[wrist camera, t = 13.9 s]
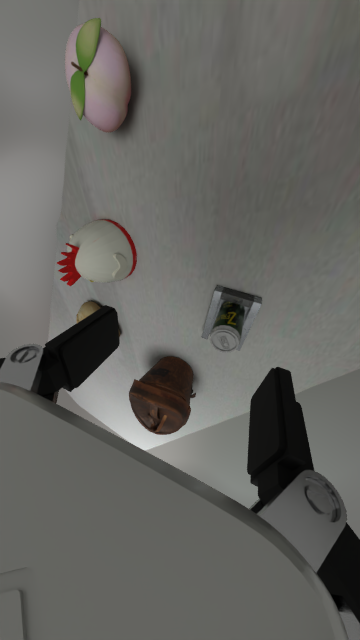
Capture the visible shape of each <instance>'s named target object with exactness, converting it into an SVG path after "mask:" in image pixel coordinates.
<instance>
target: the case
mask: <svg viewBox="0 0 360 640" xmlns="http://www.w3.org/2000/svg"><path fill="white" fill-rule="evenodd" d="M192 383H193V372H192V369H191V368H190V366H189V365H188V364H187V363H186V362H185V361H183V360H181V359H179V358H176V357H170V356H169V357H164V358H162V359H161V360H160V361H159V362H158V363H157V364H156V365H155V366H154V367H153V368H151V369H150V370H149V371H148V372H147V373H146V374H145V375H144V376H143V377H142V378H141V379H140V380H139V381H138V380H135V379H134V382H133V385H132V387H131V389H130V392H129V400H130V402H131V407H132V410H133V412H134V414H135V416H136V418H137V419H138V421H139V422H140V423H141V424H142V425H143V426H144V427H145V428H146V429H147V430H148V431H150V432H153V433H155V434H159V435H167V434H171V433H174V432H176V431H178V430H179V429H180V428H181V427H182V426H184V425H185V424H186V422H187V420H188V418H189V415H190V412H191V408H190V406H189V405H190V398H194V397H195V396H196V393H195V394H193V395H192V393H193V390H192Z"/></svg>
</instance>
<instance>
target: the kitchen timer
mask: <svg viewBox="0 0 360 640" xmlns="http://www.w3.org/2000/svg"><path fill="white" fill-rule="evenodd" d="M66 245H68V248H67V252H61V254H63V255H65V256H67V258H66V259H64V260H61V261H59V262H57V264H59V265H62V266H64V265H67V266H66V267H64V268H62V269H60V270H58V271H60V272H62V273H68V274H66V275H65V276H64V277H62V278H61V279H60V280H62V281H64V282H65V281H68V280H69V281H68V283H67V285H69V286H71V285H73V284H74V283H75V282H76V281H77V280H78V279H79V278H80V277H83V278H85V279H88V280H90V281H91V282H94V281H95V282H114V281H119V280H122V279H124V278H126V277H128V276H129V275H131V274H132V272H133V271H134V269H135V266H136V262H137V253H136V249H135V245H134V243H133V241H132V239H131V237H130V235H129V234H128V233H127V231H126V230H125V229H124V228H123V227H122V226H121V225H119V224H118V223H116V222H114V221H111V220H96V221H93V222H91V223H89V224H87V225H85V226H83V227H82V228H81V229H79V230H78V231H77V232H76V233H75V234H72V235H70V242H69V244H68V243H66Z"/></svg>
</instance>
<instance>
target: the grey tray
mask: <svg viewBox="0 0 360 640" xmlns="http://www.w3.org/2000/svg"><path fill="white" fill-rule="evenodd" d="M226 301H228V302H232V303H235V304H238V305H242V306H244V308H245V315H244V322H243V329H242V336H241V341H240V344H239V345H238V347H237V349H236V350H238V351H240V349H241V346H242V344H243V342H244V340H245V338H246V336H247V334H248V332H249V330H250V328H251V325H252V323H253V321H254V319H255V317H256V315H257V313H258V311H259V309H260V307H261V304H262V298H260V297H257V296H253V295H250V294H246V293H243V292H239V291H236V290H232V289H229V288H225V287H222V286H218V285H217V287H216V289H215V291H214V295H213V298H212V302H211V305H210V309H209V312H208V316H207V319H206V323H205V326H204V330H203V333H202V338H205V339H208V336H209V334H210V333H211V330H212V328H213V325H214V322H215V320H216V317H217V315H218V312H219V310H220V307H221V305H222V304H223V303H224V302H226Z"/></svg>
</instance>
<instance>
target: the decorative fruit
mask: <svg viewBox="0 0 360 640" xmlns="http://www.w3.org/2000/svg"><path fill="white" fill-rule="evenodd" d="M65 71H66V78H67V83H68V86H69V90H70V93H71V98H72V102H73V105H74V108H75V111H76V113H77V115H78V117H79V119H80V120H81V119H82V116H83V115H84V116H85V118H86V119H87V120H88V121H89V122H90V123H92V124H93V125H94V126H95V127H97V128H98V129H100V130H102V131H104V132H113V131H115V130H116V129H118V128H119V127H120V125H121V124H122V123H123V121H124V119H125V117H126V115H127V111H128V102H129V101H130V97H131V77H130V70H129V65H128V61H127V57H126V55H125V52H124V50H123V48H122V46H121V45H120V43H119V42H118V40H117V39H116V38H115V37H114V36H113V35H112V34H110V33H109V32H108V31H107V30H105V29H104V28H102V27H101V19H100V18H94V19H91V20H89V21H87V22H86V23H85V24H81V25H79V26H77V27H76V28H75V29H74V30H73V32H72V33H71V35H70V37H69V39H68V42H67V47H66V54H65Z"/></svg>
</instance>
